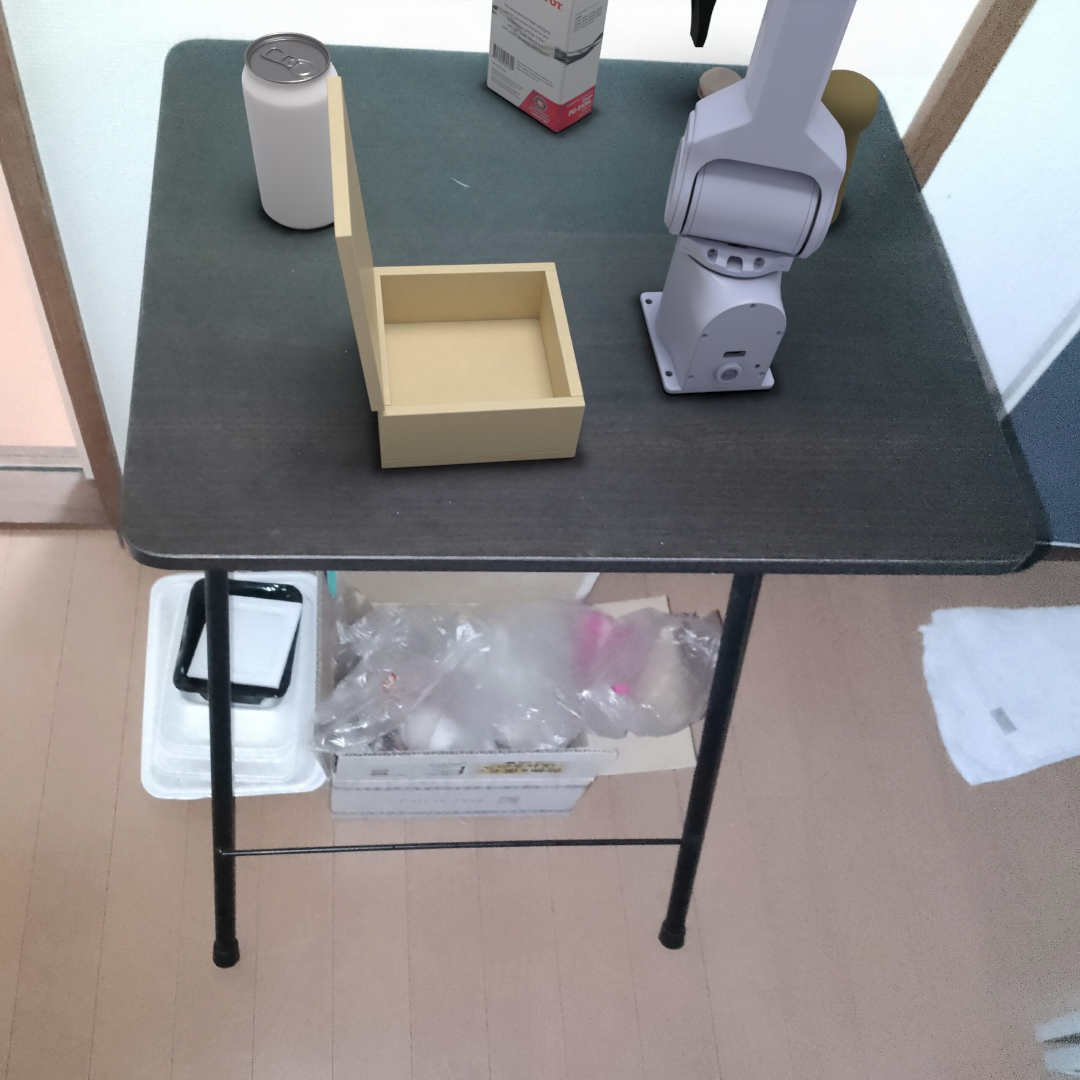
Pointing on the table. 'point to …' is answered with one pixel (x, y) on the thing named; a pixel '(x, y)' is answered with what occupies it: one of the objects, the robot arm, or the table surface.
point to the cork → (850, 113)
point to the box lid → (354, 242)
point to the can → (290, 127)
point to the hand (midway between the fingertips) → (740, 40)
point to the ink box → (547, 56)
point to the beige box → (475, 365)
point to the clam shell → (716, 81)
